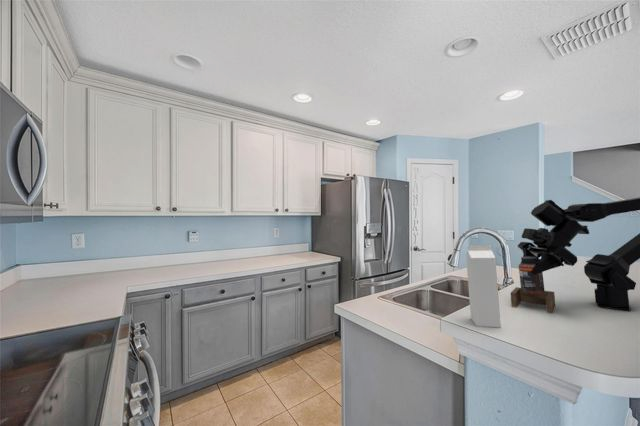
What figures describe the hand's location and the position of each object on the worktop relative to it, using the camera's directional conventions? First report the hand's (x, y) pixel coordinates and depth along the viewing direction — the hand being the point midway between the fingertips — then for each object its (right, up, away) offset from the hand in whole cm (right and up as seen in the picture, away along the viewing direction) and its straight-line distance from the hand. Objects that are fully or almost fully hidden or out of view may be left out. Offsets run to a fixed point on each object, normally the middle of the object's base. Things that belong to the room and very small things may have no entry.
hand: (525, 271), depth 83 cm
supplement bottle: (+2, -7, 0) cm, 7 cm away
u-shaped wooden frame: (+2, -11, -1) cm, 11 cm away
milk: (-20, -12, -11) cm, 26 cm away
